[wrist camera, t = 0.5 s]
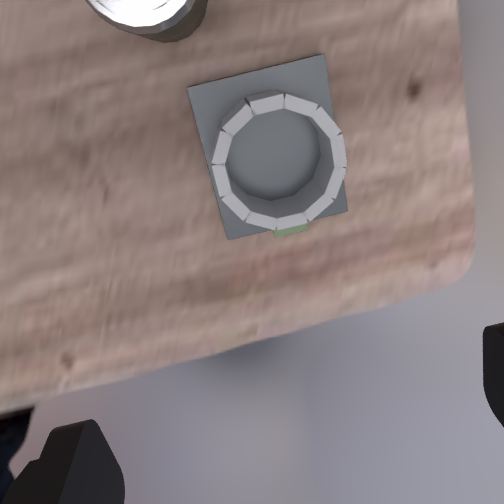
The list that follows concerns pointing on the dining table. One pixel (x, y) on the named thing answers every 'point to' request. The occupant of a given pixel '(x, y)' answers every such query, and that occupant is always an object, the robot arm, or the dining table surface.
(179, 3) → the beer can
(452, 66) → the dining table surface
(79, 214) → the dining table surface
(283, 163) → the flanged pipe fitting
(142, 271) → the dining table surface
